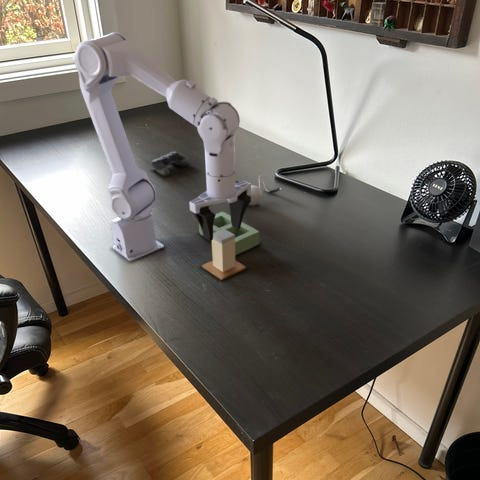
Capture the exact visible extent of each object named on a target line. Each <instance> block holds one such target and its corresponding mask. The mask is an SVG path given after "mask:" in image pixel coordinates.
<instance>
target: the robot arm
mask: <svg viewBox="0 0 480 480" xmlns="http://www.w3.org/2000/svg"><path fill="white" fill-rule="evenodd" d="M72 61H73V62H74V65H75V68H76V70H77V73H78V81H79V89H80V91H81V94H82V96H83V99H84V102H85V106H86V108H87V110H88V113H89V115H90V119H91V121H92V124H93V127H94V129H95V132H96V134H97V137H98V140H99V143H100V145H101V148H102V150H103V153H104V155H105V158H106V162H107V164H108V168H109V169H110V172H111V175H112V176H111V179H110V182H109V184H108V188H107V190H108V194H109V198H110V200H109V202H110V207H111V209H112V212H113V213H114V214H115V215H116V216H117V217H115V218H114V219H112V220H111V221H110V223H109V224H110V225H109V226H110V232H111V233H110V234H111V237H112V242H113V246H112V248H113V250H114V251H116V252H117V253H119V254H120V255H121V256H123V257H124V258H125V259H126V260H127V261H129V262H132V261H135V260H138V259H139V258H142V257H144V256H147V255H149V254H151V253H154V252H156V251H159V250H160V249H164V247H165V245H164V244H163V243H162V242H160V241H158V240H157V238H156V231H155V223H154V215H153V208H154V207H153V203H154V202H155V201H156V199H157V190H156V187H155V186H154V184H153V183H152V182H151V180H150V179H149V176H148V174H147V172H146V171H145V170H143V169H141V168H139V167H138V166H137V163H136V160H135V158H134V154H133V151H132V149H131V145H130V143H129V141H128V137H127V134H126V131H125V128H124V125H123V122H122V120H121V117H120V113H119V111H118V108H117V105H116V102H115V99H114V96H113V93H112V89H113V87H114V86H115V83H116V81H117V80H118V78H119V77H124V76H126V77H127V76H130V77H132V78H134V79H135V80H137V81H139V82H140V83H142V84H144V85H145V86H147V87H148V88H149V89H151V90H153V91H154V92H156V93H158V94H160V95H161V96H162V97H165V98H166V102H167V105H168V108H169V109H170V110H172V111H173V112H175V113H176V114H178V115H179V116H180V117H182V118H183V119H184V120H185V121H187V122H188V123H189V124H192V125H193V126H194V127H195V128H196V129H197V132H198V135H199V136H200V138H201V139H202V141H203V148H204V160H205V181H206V191H204V192H203V193H201V194H200V195H198V196H197V197H196V198H194V199H192V200H190V201H189V203H188V204H189V211H190V212H191V213H192V214H193V215H194V217H195V219H196V220H197V222H198V225H199V224H200V226H201V229H202V232H203V235H204V236H203V235H202V236H203V238H204V239H205V240H206V241H208V242H212V240H213V223H214V219H215V216H216V214H217V213H214V212H212V211H211V209H210V207H213V206H215V205H219V204H225V203H228V204H229V209H230V216H231V224H232V226H233V227H235V228H237V229H239V228H240V227H241V223H242V222H243V220H244V216H245V214H246V211H247V209H248V207H249V206H250V205H249V204H250V202H251V197H250V196H249V195H247V193H250V192H251V186H252V183H250V182H248V181H246V180H243V181H240V182H239V183H235V181H236V141H235V140H236V139H235V138H236V136H235V134H234V133H235V132H237V130H238V128H239V127H240V123H241V122H240V120H241V119H240V115H239V112H238V110H237V109H236V108H235V106H233V105H232V103H231V102H229V101H218V99H216V97H211V96H210V95H208V94H207V93H206V92H204V91H202V89H200V88H198V87H197V83H196V82H195V81H194V80H192V79H190V80H187V79H185V78H184V79H179V80H176V79H175V78H173V77H172V76H171V75H170V74H168V73H167V72H166V71H164V69H162V68H161V67H160V66H158V64H156V63H155V62H154V61H152V60H151V59H150V58H148V57H147V55H145V54H144V53H142V51H140V50H139V49H138V47H137V45H136V43H135V42H134V40H133V41H132V40H131V39H128V38H127V37H126V35H125V36H124V34H122V33H120V32H117V31H113V32H110V33H109V34H107V35H103V36H100V37H96V38H93V39H90V40H89V39H87V40H86V39H85V40H82V41H81V42H80V43H79V44H78V45H77V47H76V50H75V52H74V54H73V56H72Z"/></svg>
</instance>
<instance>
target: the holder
mask: <svg viewBox="0 0 480 480" xmlns="http://www.w3.org/2000/svg"><path fill="white" fill-rule="evenodd" d="M215 214H216V216H215V219H214V223H213V233H215V232H218V231H220V230H222V229H225V230H227V231H229V232H231V233H232V234H234V235H235V256H237V255H239V254H241V253H243V252H246V251H248V250H250V249H252V248H254V247H257V246H259V244H260V231H259V230H257V229H256V228H254V227H252V226H250V225H248V224H246V223H245V222H243V221H242V223H241V227H240V228H239V229H237V228H235V227H233V226H232V224H231V214H228V213H227V212H224V211H220V212H218V213H215ZM198 230H199V232H198V233H199V234H200V235H201V236H202V237H204V235H203V232H202V229H201V226H200V224H199V223H198Z"/></svg>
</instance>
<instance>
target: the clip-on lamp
mask: <svg viewBox="0 0 480 480" xmlns="http://www.w3.org/2000/svg"><path fill="white" fill-rule="evenodd" d="M261 181H262V185H263V187H264V190H265V191H266V192H268V193H273V194H274V193H277V192H279V191H280V192H281V191H283V188H281V187H275V188H272V189H269V190H268V188H267V186H266V184H265V181H264V178H263V176H262V175H261V174H260V175H258V185H251V192H250V193H247V195H249V196H250V197H251V202H250V204H249V205H248V206H255V205H256V206H257V205H258V204H259V203H260V202H261V200H262V198H263V193H262V191H261ZM235 183H239V180H235Z"/></svg>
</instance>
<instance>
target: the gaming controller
mask: <svg viewBox="0 0 480 480" xmlns="http://www.w3.org/2000/svg"><path fill="white" fill-rule="evenodd" d="M175 163H176V164H178V165H180V166H183V167H188V166H190V164H191V159H190V158H188V157H187V156H186V155H184V154H182V153H181V152H178V151H170V152H169V153H166V154H164V155H161V156H159V157H158V158H155V159H152V160H151V161H150V163H149V164H150V168H151V170H152V171H156V172H158V173H159V175H161V176H164V177H165V176H166V177H167V176H169V175H170V170H169V168H168V166H170V165H172V164H175Z"/></svg>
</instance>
